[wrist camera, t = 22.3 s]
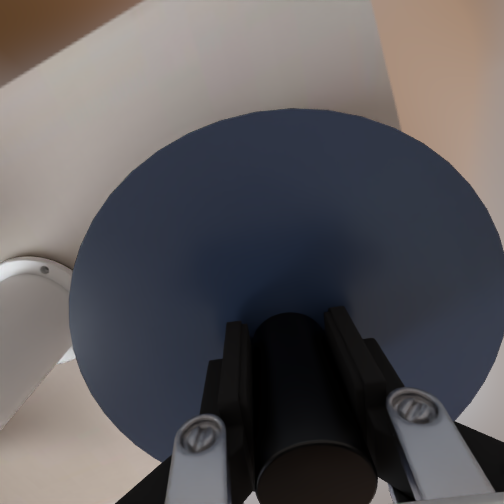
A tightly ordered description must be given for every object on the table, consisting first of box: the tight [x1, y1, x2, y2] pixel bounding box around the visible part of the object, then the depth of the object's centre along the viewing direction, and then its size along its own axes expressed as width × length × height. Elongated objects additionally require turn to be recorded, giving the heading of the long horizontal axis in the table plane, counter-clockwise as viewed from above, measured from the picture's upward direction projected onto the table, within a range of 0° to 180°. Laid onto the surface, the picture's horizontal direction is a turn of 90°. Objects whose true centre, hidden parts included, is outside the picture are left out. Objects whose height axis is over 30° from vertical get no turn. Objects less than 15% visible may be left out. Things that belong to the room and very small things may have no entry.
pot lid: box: [69, 108, 504, 504], centre depth 11 cm, size 17×17×7 cm
